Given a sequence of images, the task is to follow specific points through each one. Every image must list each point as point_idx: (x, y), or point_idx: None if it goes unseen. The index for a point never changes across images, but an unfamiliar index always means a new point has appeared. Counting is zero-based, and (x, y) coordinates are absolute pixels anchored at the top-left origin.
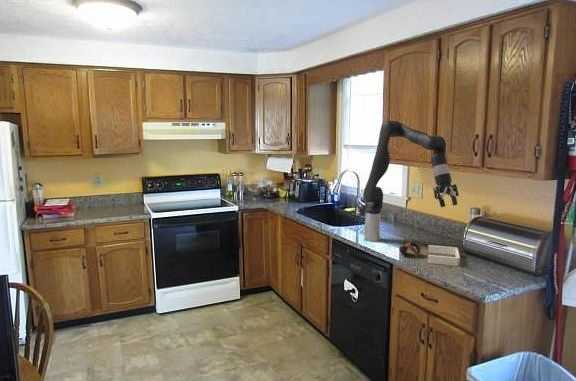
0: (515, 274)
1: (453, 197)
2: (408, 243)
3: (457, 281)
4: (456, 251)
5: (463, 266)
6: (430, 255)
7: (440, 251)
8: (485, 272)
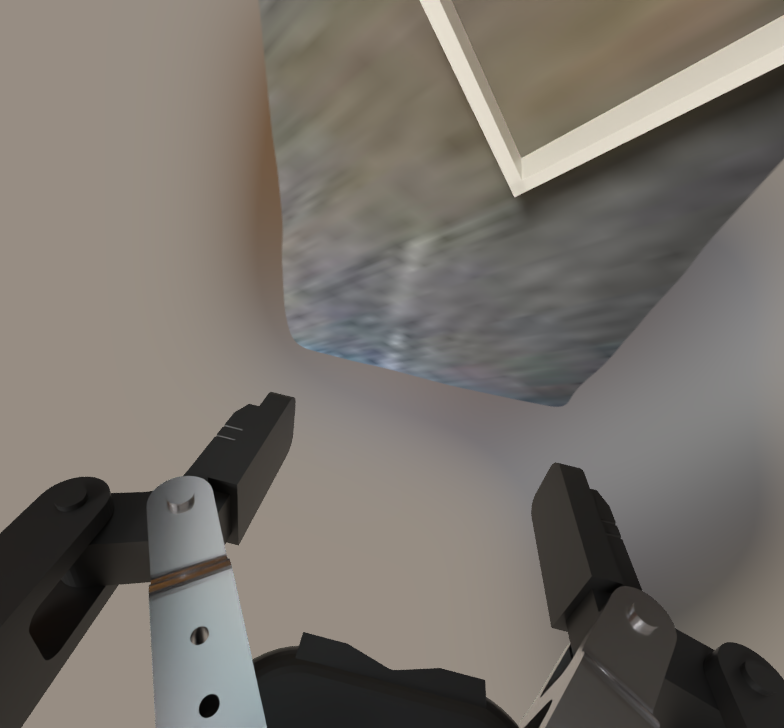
0: (560, 359)
1: (579, 621)
2: None
3: (315, 258)
4: (695, 91)
5: None
6: (428, 1)
7: None
8: (505, 289)
